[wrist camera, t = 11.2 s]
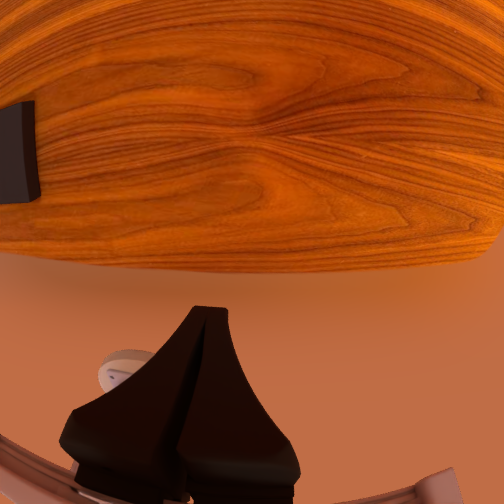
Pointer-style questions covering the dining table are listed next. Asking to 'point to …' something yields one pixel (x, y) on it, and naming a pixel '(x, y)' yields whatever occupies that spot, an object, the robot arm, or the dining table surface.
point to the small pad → (18, 154)
